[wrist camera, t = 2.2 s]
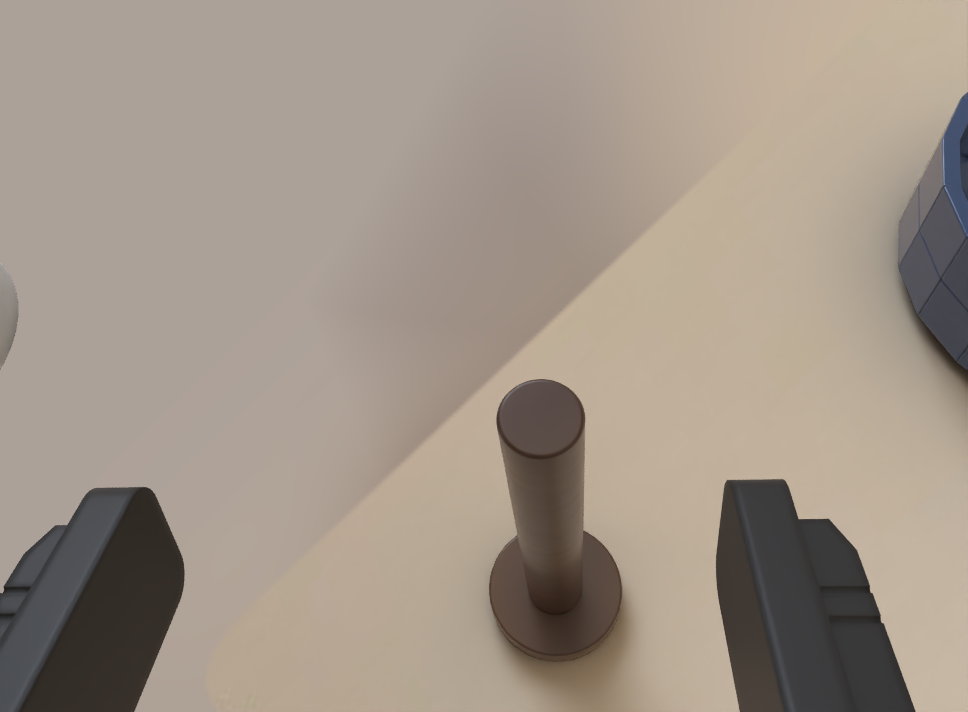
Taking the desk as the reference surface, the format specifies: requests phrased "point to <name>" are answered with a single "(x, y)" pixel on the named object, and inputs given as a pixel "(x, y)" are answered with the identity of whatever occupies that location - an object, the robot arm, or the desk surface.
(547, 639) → the stick
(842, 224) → the desk surface
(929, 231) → the bowl
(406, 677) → the desk surface
